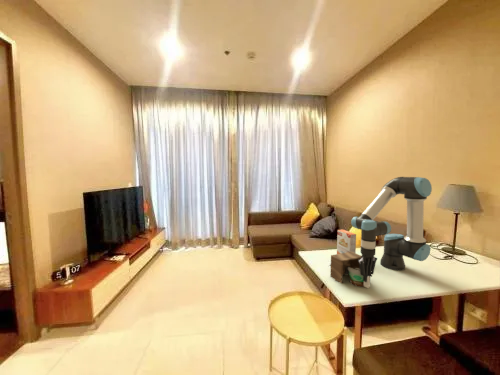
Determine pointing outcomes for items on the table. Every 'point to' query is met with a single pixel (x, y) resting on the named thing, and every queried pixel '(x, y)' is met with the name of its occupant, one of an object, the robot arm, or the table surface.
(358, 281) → the food container
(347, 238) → the cracker box
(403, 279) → the table surface
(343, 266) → the walnut shelf
